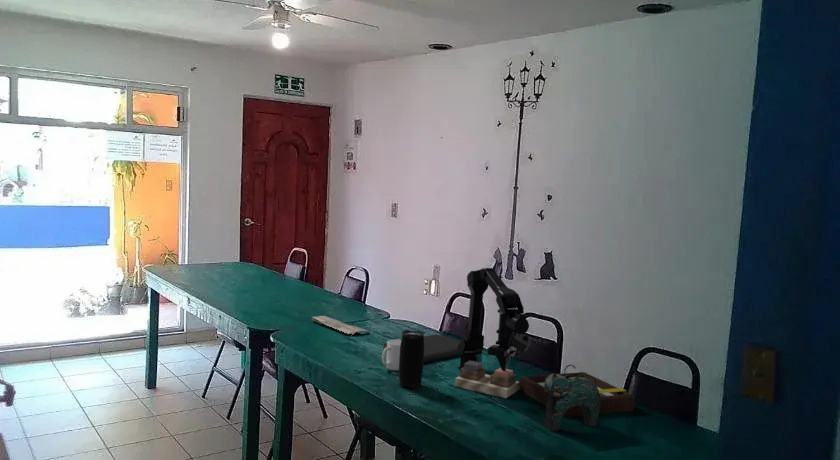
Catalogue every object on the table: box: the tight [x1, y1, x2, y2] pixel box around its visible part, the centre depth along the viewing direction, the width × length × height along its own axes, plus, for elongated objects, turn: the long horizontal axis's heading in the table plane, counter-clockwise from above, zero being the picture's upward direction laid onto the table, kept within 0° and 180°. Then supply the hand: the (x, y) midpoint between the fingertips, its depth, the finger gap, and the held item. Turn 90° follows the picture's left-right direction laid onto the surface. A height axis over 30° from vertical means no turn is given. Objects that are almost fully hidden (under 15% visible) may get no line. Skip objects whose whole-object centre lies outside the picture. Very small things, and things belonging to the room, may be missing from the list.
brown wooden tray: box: [518, 371, 635, 418], centre depth 227 cm, size 28×7×30 cm
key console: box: [454, 367, 520, 399], centre depth 234 cm, size 20×12×6 cm, turn 60°
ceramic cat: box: [544, 364, 601, 433], centre depth 200 cm, size 20×6×20 cm, turn 114°
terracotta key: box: [493, 367, 514, 379], centre depth 231 cm, size 5×5×3 cm
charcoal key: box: [464, 361, 483, 372], centre depth 237 cm, size 5×5×3 cm
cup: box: [381, 339, 401, 372], centre depth 251 cm, size 8×12×10 cm
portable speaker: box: [398, 329, 425, 390], centre depth 231 cm, size 9×9×20 cm
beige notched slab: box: [311, 315, 371, 336], centre depth 314 cm, size 35×12×4 cm, turn 43°
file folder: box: [382, 333, 462, 365], centre depth 279 cm, size 33×4×24 cm
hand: (503, 370), depth 231 cm, fingers closed, pressing on terracotta key
